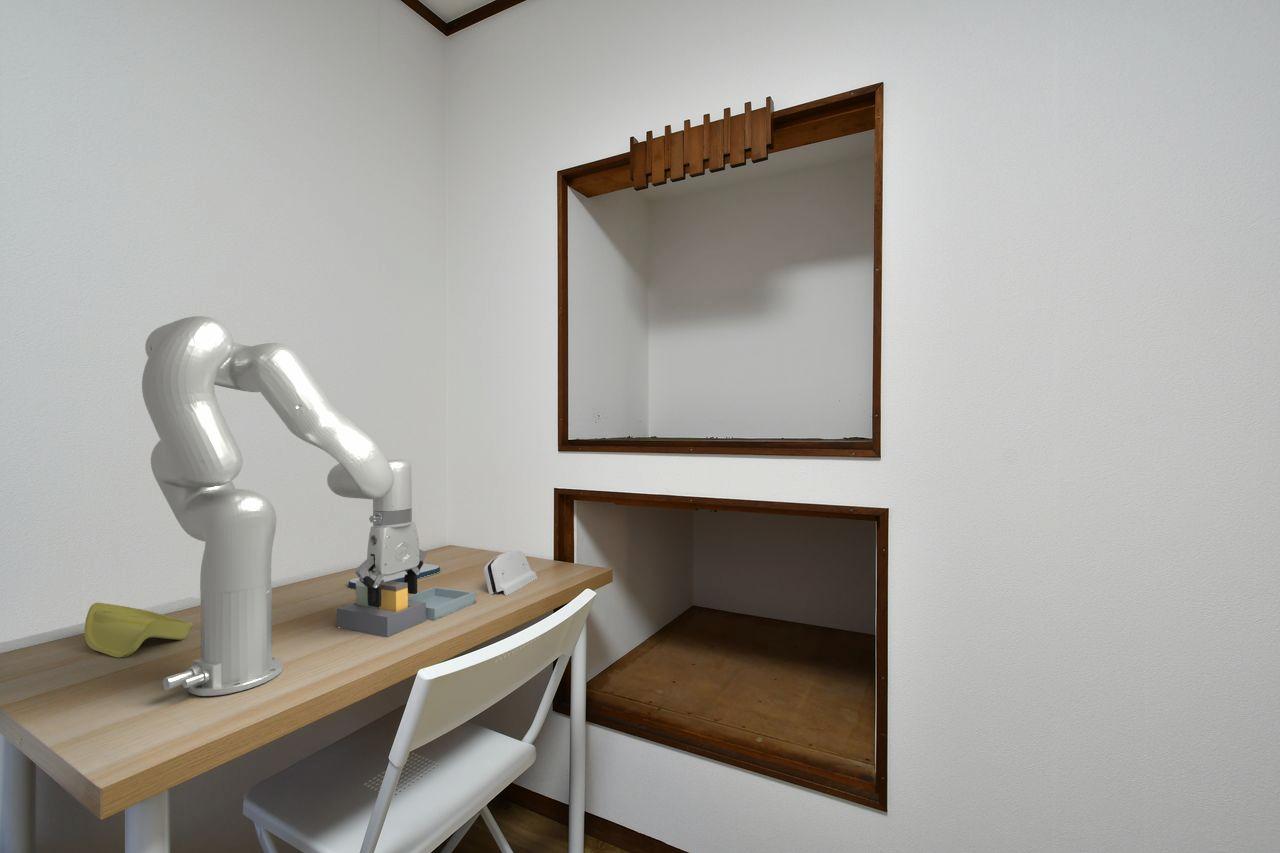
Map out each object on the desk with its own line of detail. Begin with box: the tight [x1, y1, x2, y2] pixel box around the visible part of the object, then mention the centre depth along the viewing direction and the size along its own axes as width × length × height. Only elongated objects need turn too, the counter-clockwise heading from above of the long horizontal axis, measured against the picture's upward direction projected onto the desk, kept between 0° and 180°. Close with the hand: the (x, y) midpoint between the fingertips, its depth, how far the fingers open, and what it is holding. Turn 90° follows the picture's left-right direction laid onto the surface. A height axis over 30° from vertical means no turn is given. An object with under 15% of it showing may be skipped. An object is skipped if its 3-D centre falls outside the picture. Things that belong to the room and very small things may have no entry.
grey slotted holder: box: [483, 550, 538, 596], centre depth 143 cm, size 17×5×10 cm, turn 163°
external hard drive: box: [348, 562, 441, 590], centre depth 152 cm, size 24×12×2 cm, turn 147°
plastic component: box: [83, 602, 194, 659], centre depth 107 cm, size 20×7×10 cm
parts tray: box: [408, 586, 477, 621], centre depth 125 cm, size 13×13×2 cm
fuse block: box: [335, 578, 427, 638], centre depth 115 cm, size 10×15×9 cm, turn 66°
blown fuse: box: [379, 581, 409, 612], centre depth 113 cm, size 3×5×9 cm, turn 66°
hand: (393, 599), depth 113 cm, fingers open, 8 cm apart
